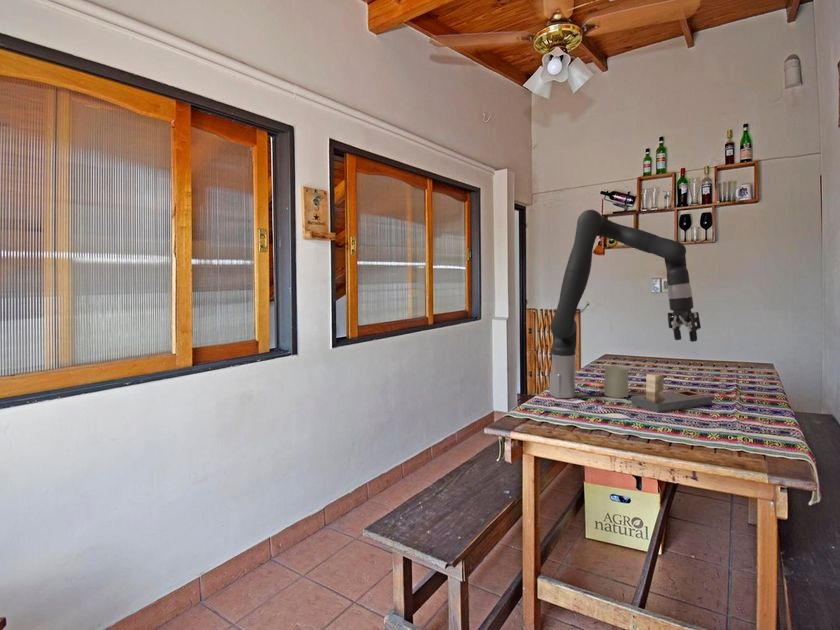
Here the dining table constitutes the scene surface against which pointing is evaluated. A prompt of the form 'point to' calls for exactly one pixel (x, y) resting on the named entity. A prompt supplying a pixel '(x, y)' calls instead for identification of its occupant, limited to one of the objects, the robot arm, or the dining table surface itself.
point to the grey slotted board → (672, 401)
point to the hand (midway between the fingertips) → (685, 340)
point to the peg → (654, 387)
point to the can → (616, 381)
